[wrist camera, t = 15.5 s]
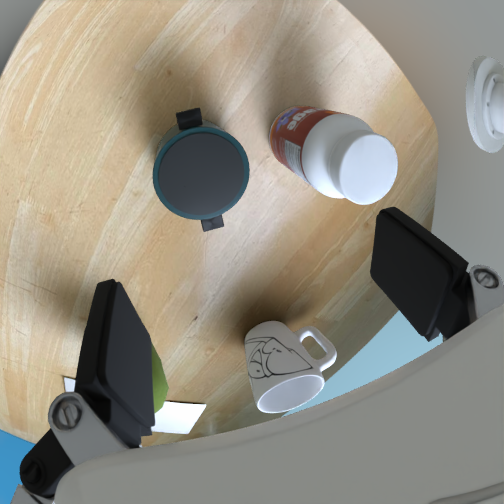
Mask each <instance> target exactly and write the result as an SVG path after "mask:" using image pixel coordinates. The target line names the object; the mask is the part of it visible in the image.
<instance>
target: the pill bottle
mask: <svg viewBox="0 0 504 504" xmlns="http://www.w3.org/2000/svg"><path fill="white" fill-rule="evenodd" d="M269 144H270V148H271V151H272V153H273V155H274V156H275V158H276V159H277V160H278V161H279V162H280V163H281V164H283V165H284V166H286V167H287V168H288V169H290V170H291V171H292V172H294V173H295V174H297V175H298V176H299V177H301V178H302V179H303V180H305V181H306V182H307V183H309V184H310V185H311V186H312V187H314V188H315V189H316V190H318V191H319V192H321V193H322V194H324V195H327V196H329V197H334V198H345V197H346V198H347V199H349V200H350V201H352V202H354V203H357V204H371V203H374V202H376V201H378V200H379V199H381V198H382V197H383V196H384V195H385V194H386V193H387V192H388V191H389V190H390V188H391V186H392V185H393V183H394V180H395V178H396V174H397V169H398V159H397V154H396V151H395V149H394V147H393V145H392V144H391V142H390V141H389V140H388V139H387V138H385V137H384V136H382V135H380V134H377V133H374V132H373V130H372V129H371V128H370V126H369V125H368V124H366V123H365V122H364V121H362V120H361V119H359V118H357V117H355V116H352V115H348V114H344V113H339V112H335V111H330V110H325V109H320V108H315V107H309V106H294V107H291V108H288V109H286V110H285V111H283V112H282V113H281V114H279V115H278V116H277V118H276V119H275V120H274V122H273V124H272V126H271V129H270V133H269Z"/></svg>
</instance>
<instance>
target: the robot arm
mask: <svg viewBox="0 0 504 504" xmlns="http://www.w3.org/2000/svg"><path fill="white" fill-rule="evenodd" d="M482 114H483V120H484V125H485V128H486V130H487V132H488V134H489V135H490V136H491V137H492V138H494V139H497V140H500V139H502V138H503V137H504V78H503V76H502V75H500V74H497V73H491V74H489V76H488V77H487V79H486V80H485V83H484V87H483V92H482ZM468 264H469V263H468V262H467V261H466V260H464V259H463V258H462V257H461V256H460V255H459V254H457V253H456V252H455V251H454V250H452V249H451V248H450V247H449V246H447V245H446V244H445V243H444V242H442V241H441V240H440V239H438V238H437V237H436V236H434V235H433V234H432V233H431V232H429V231H428V230H427V229H425V228H424V227H423V226H421V225H420V224H419V223H417V222H416V221H415V220H413V219H412V218H410V217H409V216H408V215H406V214H405V213H403V212H402V211H400V210H399V209H398V208H396V207H390V208H386V209H382V210H381V211H380V212H379V214H378V215H377V218H376V227H375V237H374V246H373V254H372V262H371V269H370V274H371V277H372V279H373V280H374V281H375V283H376V284H377V285H378V286H379V287H380V288H381V289H382V290H383V292H384V293H385V294H386V295H387V296H388V297H389V298H390V300H391V301H392V302H393V303H394V304H395V305H396V307H397V308H398V309H399V310H400V311H401V313H402V314H403V315H404V316H405V317H406V318H407V320H408V321H409V322H410V323H411V325H412V326H413V327H414V328H415V329H416V331H417V332H418V333H419V334H420V335H421V336H424V337H425V338H426V339H427V341H428V342H429V341H431V340H432V339H434V338H436V337H437V336H439V333H440V332H441V334H442V335H443V343H441V344H440V345H438V346H437V347H435V348H433V349H432V350H430V351H428V352H427V353H425V354H423V355H422V356H420V357H418V358H416V359H414V360H413V361H411V362H409V363H407V364H405V365H404V366H402V367H400V368H398V369H396V370H394V371H393V372H390V373H388V374H386V375H384V376H382V377H380V378H379V379H376V380H374V381H372V382H370V383H368V384H366V385H363V386H362V387H360V388H357V389H355V390H353V391H350V392H348V393H345V394H343V395H341V396H338V397H336V398H333V399H331V400H328V401H326V402H323V403H321V404H318V405H315V406H313V407H310V408H307V409H304V410H301V411H299V412H296V413H293V414H290V415H287V416H284V417H280V418H277V419H274V420H271V421H267V422H264V423H261V424H257V425H253V426H250V427H246V428H242V429H238V430H234V431H230V432H225V433H221V434H216V435H212V436H207V437H202V438H197V439H192V440H187V441H181V442H175V443H169V444H162V445H154V446H148V447H142V446H141V445H140V444H141V436H149V435H152V429H151V427H153V426H155V412H154V397H153V378H152V343H151V338H150V335H149V333H148V332H147V330H146V328H145V326H144V325H143V323H142V321H141V319H140V318H139V316H138V314H137V312H136V310H135V308H134V307H133V305H132V303H131V301H130V299H129V297H128V295H127V293H126V291H125V290H124V288H123V286H122V284H121V283H120V282H116V281H115V280H114V279H110V280H106V281H103V282H99V283H98V284H97V286H96V290H95V293H94V297H93V301H92V305H91V309H90V313H89V317H88V321H87V326H86V328H85V331H84V336H83V341H82V346H81V351H80V356H79V362H78V368H77V374H76V381H75V388H74V392H65V393H62V394H60V395H59V396H58V397H56V398H55V400H54V401H53V402H52V404H51V406H50V408H49V412H48V422H49V424H50V427H51V428H50V430H49V431H48V432H47V433H46V434H45V435H44V436H43V437H42V438H41V439H40V440H39V442H38V443H37V444H36V445H35V446H34V447H33V448H32V450H30V451H29V453H28V454H27V455H26V456H25V457H24V459H23V460H22V462H21V465H20V478H21V481H22V483H23V485H20V484H18V486H17V489H16V491H15V493H14V496H13V498H12V501H11V504H504V285H503V282H502V279H501V277H500V276H499V275H498V273H497V272H496V271H494V270H493V269H491V268H490V267H488V266H484V265H475V266H473V267H472V268H471V269H470V272H469V273H468V272H466V269H467V266H468Z"/></svg>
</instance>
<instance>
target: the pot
mask: <svg viewBox="0 0 504 504" xmlns="http://www.w3.org/2000/svg"><path fill="white" fill-rule="evenodd" d="M176 118H177V123H178V124H177V125H175V126H174V127H172V128H171V129H170V130H169V131H168V132H167V133H166V134H165V135H164V136H163V138H162V140H161V141H160V143H159V146H158V150H157V154H156V158H155V163H154V168H153V184H154V188H155V191H156V194H157V196H158V197H159V199H160V201H161V202H162V203H163V204H164V205H165V207H166V208H168V209H169V210H170V211H171V212H173V213H175V214H176V215H179V216H181V217H184V218H188V219H194V220H201V224H202V228H203V231H204V232H205V231H209V230H213V229H217V228H220V227H224V223H223V219H222V214H223V213H225V212H226V211H228V210H229V209H230V208H232V207H233V206H234V205H235V204H236V203H237V202H238V201H239V199H240V198H241V197H242V195H243V193H244V191H245V189H246V187H247V184H248V180H249V171H250V169H249V162H248V158H247V155H246V152H245V151H244V149H243V147H242V146H241V144H240V143H239V142H238V141H237V140H236V139H235V138H234V137H233V136H231V135H230V134H228V133H227V132H226V131H224V130H223V129H221V128H220V127H218V126H217V125H215V124H213V123H211V122H208V121H204V120H202V116H201V111H200V108H194V109H189V110H185V111H181V112H177V113H176Z"/></svg>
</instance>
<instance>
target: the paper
mask: <svg viewBox="0 0 504 504" xmlns="http://www.w3.org/2000/svg"><path fill="white" fill-rule="evenodd" d="M75 381H76V380H73V379H69V378H65V377H64V382H65V389H66V392H74V388H75ZM205 407H206V405H199V404H184V403H174V402H166V401H165V402H164V405H163V407H162V408H161V409H160V410H159V411H158V412H156V413H155V426H153V427H151V429H152V431H156V432H168V433H183V434H188V433H189V432H190V430H191V428H192V427H193V425H194V424H195V422H196V421H197V419H198V418H199V416H200V414H201V413H202V411H203V410H204V408H205Z"/></svg>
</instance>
